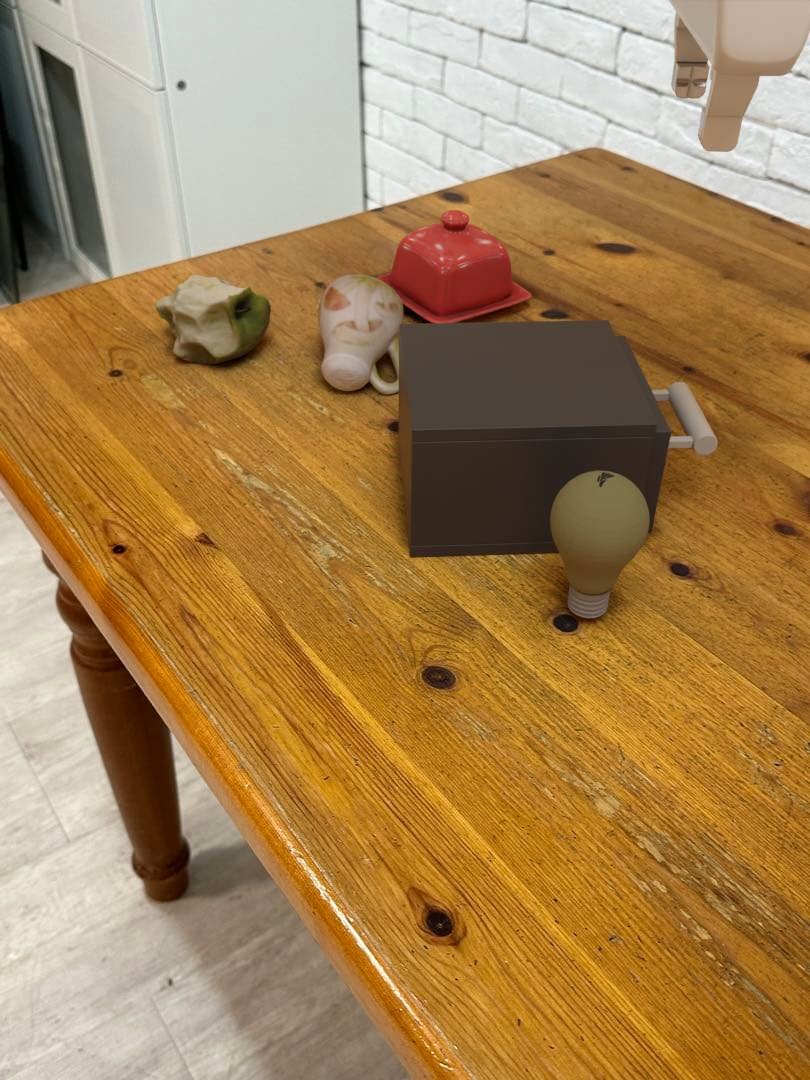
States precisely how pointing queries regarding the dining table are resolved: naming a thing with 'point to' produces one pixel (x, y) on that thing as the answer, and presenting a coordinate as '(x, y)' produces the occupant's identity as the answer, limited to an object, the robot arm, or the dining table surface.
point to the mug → (359, 331)
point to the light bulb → (597, 535)
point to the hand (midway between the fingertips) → (700, 119)
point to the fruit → (214, 319)
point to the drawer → (689, 418)
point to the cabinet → (510, 428)
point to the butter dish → (453, 271)
